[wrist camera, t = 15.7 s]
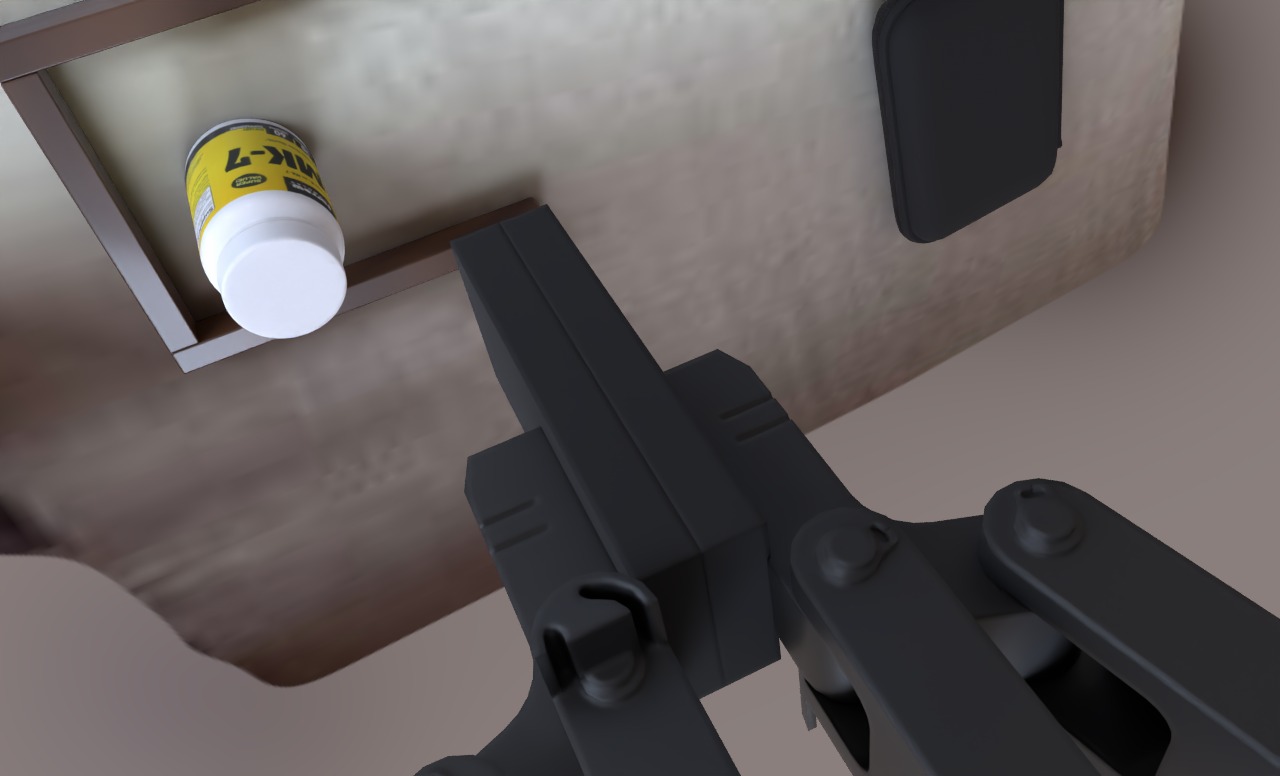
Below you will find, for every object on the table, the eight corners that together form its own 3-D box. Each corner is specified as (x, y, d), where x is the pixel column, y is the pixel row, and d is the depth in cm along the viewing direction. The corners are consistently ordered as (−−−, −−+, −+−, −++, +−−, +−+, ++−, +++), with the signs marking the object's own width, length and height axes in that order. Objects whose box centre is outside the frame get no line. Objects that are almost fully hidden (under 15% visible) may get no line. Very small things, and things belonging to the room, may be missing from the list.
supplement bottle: (327, 129, 41) (378, 241, 35) (297, 234, 43) (340, 356, 37) (195, 100, 38) (227, 216, 32) (170, 214, 40) (196, 341, 35)
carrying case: (1051, 149, 58) (1053, -112, 48) (1089, 175, 56) (1101, -91, 46) (886, 239, 57) (850, -6, 47) (919, 269, 55) (889, 20, 45)
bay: (451, -114, 37) (464, -102, 36) (538, 218, 47) (549, 235, 46) (-21, 31, 34) (-23, 49, 33) (179, 353, 44) (183, 375, 43)
